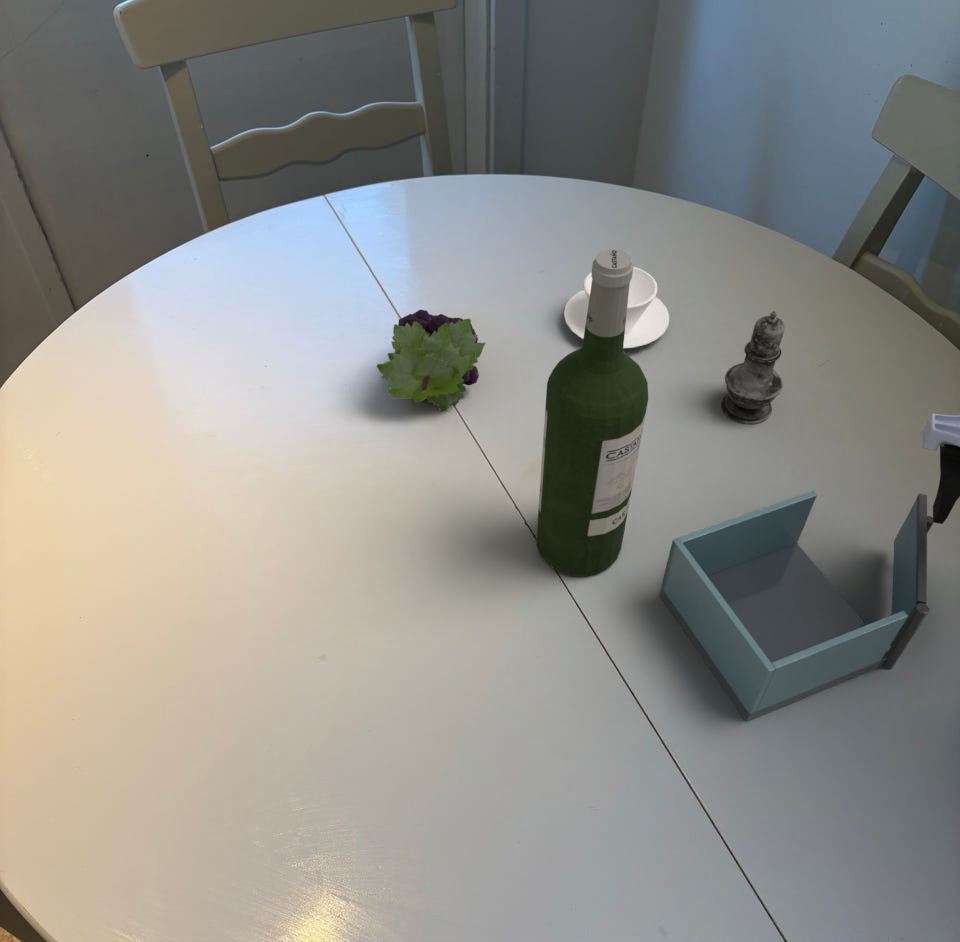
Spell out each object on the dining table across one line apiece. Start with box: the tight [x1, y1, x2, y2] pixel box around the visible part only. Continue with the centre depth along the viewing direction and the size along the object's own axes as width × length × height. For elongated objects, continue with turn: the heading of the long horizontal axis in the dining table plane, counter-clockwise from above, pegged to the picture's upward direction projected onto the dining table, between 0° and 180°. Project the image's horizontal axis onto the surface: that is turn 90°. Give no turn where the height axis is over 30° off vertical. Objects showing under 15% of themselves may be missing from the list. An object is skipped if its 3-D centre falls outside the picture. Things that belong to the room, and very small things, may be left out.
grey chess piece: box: [720, 311, 786, 425], centre depth 92 cm, size 6×6×12 cm
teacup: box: [563, 266, 670, 349], centre depth 104 cm, size 12×12×5 cm
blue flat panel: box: [890, 493, 934, 647], centre depth 78 cm, size 12×2×6 cm, turn 163°
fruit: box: [376, 309, 487, 412], centre depth 96 cm, size 10×11×15 cm
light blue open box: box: [659, 490, 930, 722], centre depth 76 cm, size 14×14×8 cm
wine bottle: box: [535, 248, 649, 577], centre depth 74 cm, size 8×8×30 cm
